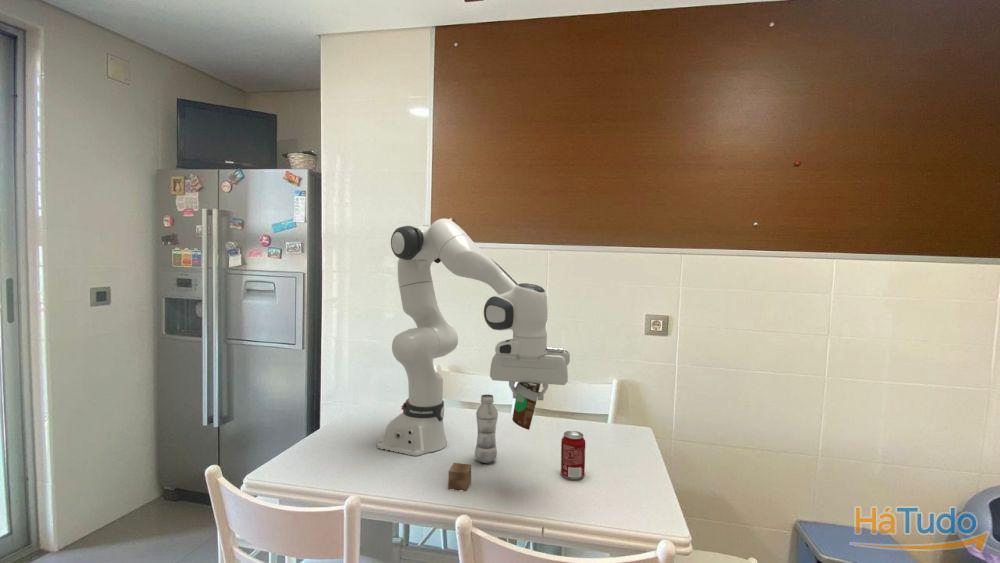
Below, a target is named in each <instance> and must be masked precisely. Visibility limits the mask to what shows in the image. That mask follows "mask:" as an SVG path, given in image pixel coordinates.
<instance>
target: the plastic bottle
mask: <svg viewBox="0 0 1000 563" xmlns="http://www.w3.org/2000/svg"><path fill="white" fill-rule="evenodd" d="M480 403H481V404H480V405H479V406H478V408H477V410H476V413H475V415H476V424H477V425H476V426H477V438H476V445H475V449H474V455H475V456H474V457H475V459H476V460H477V461H478V462H479V463H483V464H489V463H493V462H494V461H495V460H496V459H497V454H498V451H497V442H496V433H497V432H496V430H497V422H498V417H499V413H498V409H497V407H496V406H495V405H494V403H495V400H494V395H493V394H481V396H480Z"/></svg>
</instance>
